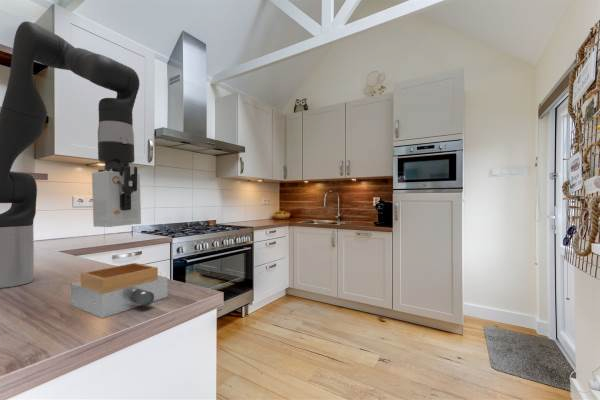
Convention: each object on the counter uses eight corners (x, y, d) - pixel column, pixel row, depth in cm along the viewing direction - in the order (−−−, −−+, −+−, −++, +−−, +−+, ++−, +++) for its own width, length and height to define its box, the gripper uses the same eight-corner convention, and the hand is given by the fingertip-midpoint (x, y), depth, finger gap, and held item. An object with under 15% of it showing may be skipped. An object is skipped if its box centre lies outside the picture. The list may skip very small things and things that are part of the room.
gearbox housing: (70, 304, 67) (70, 273, 67) (134, 287, 80) (134, 261, 80) (111, 322, 57) (111, 285, 57) (177, 299, 70) (177, 269, 70)
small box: (124, 223, 75) (123, 174, 75) (141, 224, 72) (140, 173, 72) (92, 226, 67) (91, 171, 67) (110, 227, 65) (109, 170, 65)
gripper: (85, 144, 70) (86, 210, 70) (115, 136, 63) (116, 210, 63) (117, 148, 77) (118, 209, 77) (148, 141, 69) (149, 209, 69)
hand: (117, 210), depth 70 cm, fingers closed on small box, 6 cm apart
